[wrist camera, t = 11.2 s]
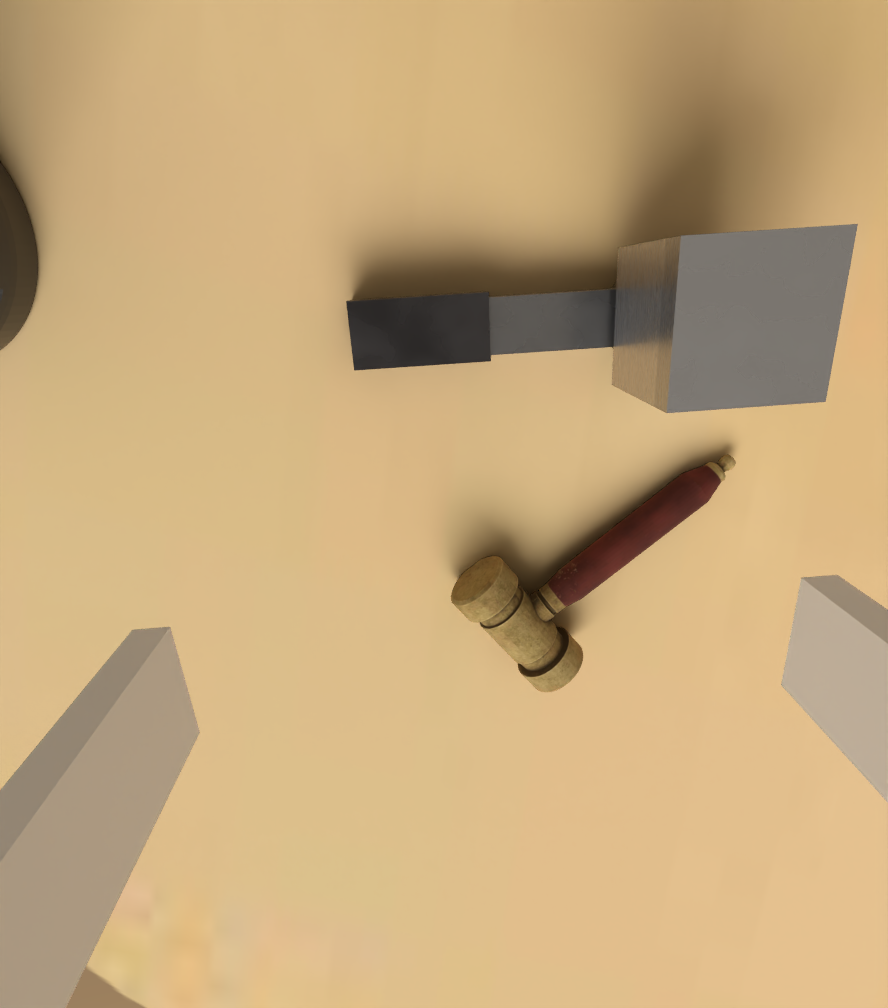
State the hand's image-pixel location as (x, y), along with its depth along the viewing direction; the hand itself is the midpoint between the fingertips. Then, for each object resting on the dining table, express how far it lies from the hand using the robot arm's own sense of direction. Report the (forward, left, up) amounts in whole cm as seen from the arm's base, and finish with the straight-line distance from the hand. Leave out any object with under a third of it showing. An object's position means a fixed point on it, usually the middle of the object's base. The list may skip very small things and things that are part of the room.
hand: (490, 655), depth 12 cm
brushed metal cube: (+14, +5, -24) cm, 28 cm away
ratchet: (+6, +5, -27) cm, 28 cm away
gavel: (+11, -11, -27) cm, 31 cm away
